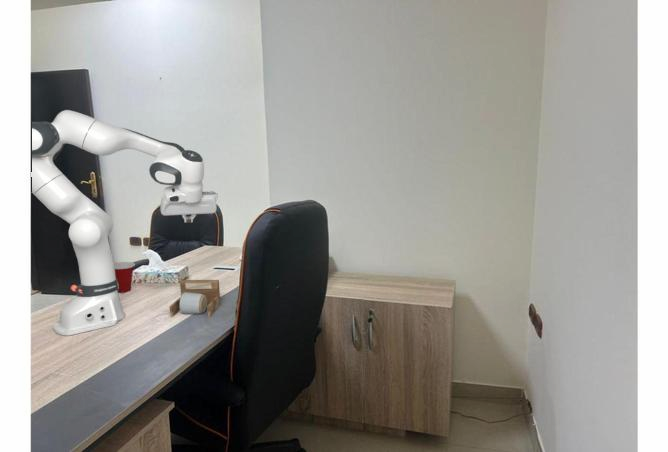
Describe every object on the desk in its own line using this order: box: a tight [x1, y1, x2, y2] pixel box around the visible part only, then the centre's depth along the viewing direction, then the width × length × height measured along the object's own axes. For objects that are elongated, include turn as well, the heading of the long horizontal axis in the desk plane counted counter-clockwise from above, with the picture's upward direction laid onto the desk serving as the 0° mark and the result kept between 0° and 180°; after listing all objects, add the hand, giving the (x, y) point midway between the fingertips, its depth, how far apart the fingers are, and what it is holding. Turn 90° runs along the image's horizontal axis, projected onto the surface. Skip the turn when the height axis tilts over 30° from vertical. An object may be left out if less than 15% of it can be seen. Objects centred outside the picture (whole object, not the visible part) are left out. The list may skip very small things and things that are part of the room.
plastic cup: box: [114, 261, 136, 294], centre depth 194 cm, size 11×11×12 cm
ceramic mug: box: [179, 292, 207, 315], centre depth 167 cm, size 11×8×8 cm
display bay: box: [169, 279, 221, 318], centre depth 167 cm, size 13×15×10 cm
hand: (188, 221), depth 174 cm, fingers closed
